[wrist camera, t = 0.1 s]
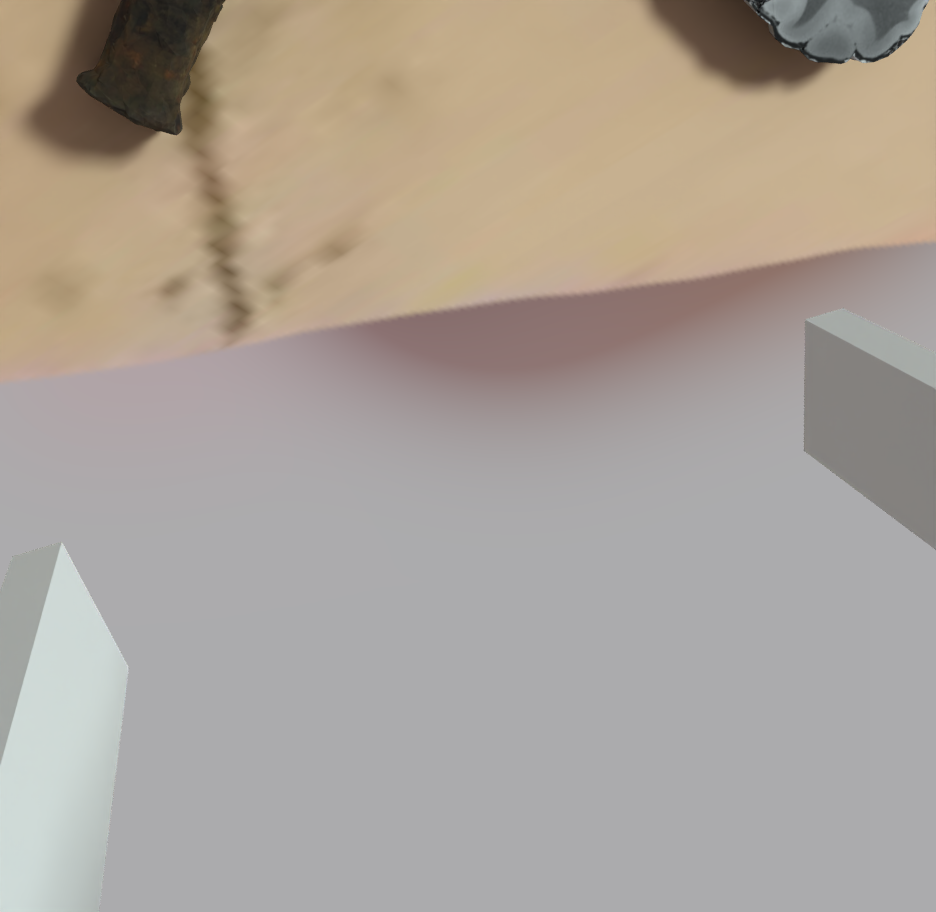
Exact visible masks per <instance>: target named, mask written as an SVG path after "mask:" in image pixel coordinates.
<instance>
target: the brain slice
mask: <svg viewBox="0 0 936 912" xmlns="http://www.w3.org/2000/svg"><path fill="white" fill-rule="evenodd" d="M744 1H745V2H746V3H747V5H748V6H749V7H750V8H751V9H752V10H753V11H754V12H756V13H757V14H758V16H760V17H761V18H762V19H764V20H765V21H766V22H768V26H769V31H770V33H771V34H772V35H773V36H774V38H775V39H776V40H778V41H779V42H780V43H781V44H783V45H784V46H785V47H789V48H793V49H797V50H800V51H801V52H802V53H803V54H804V55H805V56H806V57H807V58H808V59H809V60H812V61H815V62H829V63H838V64H842V63H845V62H847V61H848V60H849V59H852V60H858V61H860V62H862V63H868V62H875V61H878V60H880V59H883V58H885V57H887V56H889V55H890V54H892V53H893V52H894V51H895V50H897V49H898V48H899V47H900V46H901V45H902V44H903V43H905V42H906V41H907V40H908V38H909V37H910V36H911V35H912V34H913V32H914V31H915V29H916V28H917V26H918V25H919V22H920V18H921V15H922V12H923V10H924V8H925V7H926V5H927V3H928V1H929V0H744Z"/></svg>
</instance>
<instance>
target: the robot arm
mask: <svg viewBox="0 0 936 912" xmlns="http://www.w3.org/2000/svg"><path fill="white" fill-rule="evenodd" d="M804 381H805V383H804V384H805V385H804V451H805V452H806V453H808V454H809V455H811V456H812V457H813V458H814V459H816V460H817V461H818V462H820V463H821V464H822V465H824V466H825V467H826V468H828V469H829V470H830V471H832V472H833V473H835V474H836V475H837V476H838V477H840V478H841V479H843V480H844V481H845V482H846V483H848V484H849V485H850V486H852V487H853V488H854V489H856V490H857V491H858V492H860V493H861V494H862V495H864V496H865V497H866V498H868V499H869V500H870V501H872V502H873V503H874V504H876V505H877V506H878V507H879V508H881V509H882V510H883V511H885V512H886V513H887V514H889V515H890V516H892V517H893V518H894V519H896V520H897V521H898V522H899V523H901V524H902V525H903V526H905V527H906V528H908V529H909V530H910V531H911V532H913V533H914V534H915V535H917V536H918V537H919V538H921V539H922V540H923V541H925V542H926V543H928V544H929V545H930V546H931V547H933V548H934V549H935V550H936V353H935V352H933V351H931V350H929V349H927V348H925V347H923V346H921V345H919V344H917V343H915V342H912V341H911V340H908V339H906V338H904V337H902V336H900V335H898V334H896V333H894V332H892V331H890V330H887V329H886V328H883V327H881V326H879V325H877V324H875V323H873V322H871V321H869V320H867V319H865V318H863V317H861V316H858V315H856V314H854V313H852V312H850V311H848V310H846V309H844V308H842V309H839V310H835V311H832V312H829V313H825V314H822V315H819V316H815V317H812V318H809V319H805V380H804ZM128 670H129V667H128V665H127V663H126V662H125V660H124V658H123V656H122V654H121V652H120V650H119V648H118V646H117V645H116V643H115V641H114V639H113V637H112V635H111V633H110V631H109V630H108V628H107V626H106V624H105V622H104V620H103V619H102V617H101V615H100V613H99V611H98V609H97V607H96V605H95V603H94V602H93V600H92V598H91V596H90V594H89V592H88V590H87V588H86V586H85V585H84V583H83V581H82V579H81V577H80V575H79V573H78V571H77V570H76V568H75V566H74V564H73V562H72V560H71V558H70V556H69V555H68V553H67V551H66V549H65V547H64V545H63V543H62V542H60V543H56V544H54V545H50V546H47V547H44V548H40V549H36V550H33V551H30V552H26V553H23V554H20V555H16V556H13V557H12V560H11V562H10V565H9V568H8V571H7V573H6V576H5V579H4V582H3V585H2V588H1V590H0V912H99V908H100V899H101V892H102V883H103V875H104V866H105V859H106V851H107V843H108V834H109V825H110V818H111V810H112V802H113V793H114V785H115V777H116V769H117V761H118V752H119V743H120V735H121V728H122V720H123V711H124V703H125V694H126V687H127V679H128Z"/></svg>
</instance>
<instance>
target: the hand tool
mask: <svg viewBox="0 0 936 912" xmlns="http://www.w3.org/2000/svg"><path fill="white" fill-rule="evenodd" d="M224 1H225V0H122V1H121V3H120V5H119V8H118V10H117V12H116V14H115V16H114V19H113V23H112V28H111V32H110V34H109V37H108V39H107V42H106V45H105V48H104V51H103V53H102V56H101V58H100V61H99V63H98V64H97V66H96V67H95V69H93V70H90V71H86V72H83V73H81V74H79V75H78V76H77V83H78V84H79V85H80V87H82V88H83V89H84V90H85V91H86V92H87V93H88V94H89V95H90V96H91V97H93V98H95V99H97V100H98V101H100V102H102V103H103V104H105V105H106V106H108V107H110V108H111V109H113V110H114V111H116V112H117V113H119V114H121V115H123V116H124V117H126V118H127V119H129V120H130V121H132V122H133V123H135V124H137V125H143V126H145V127H148V128H151V129H154V130H155V131H163V132H166V133H169V134H173V135H178V134H179V133H180V132H181V130H182V120H181V113H180V103H181V99H182V97H183V96H184V95H185V93H186V92H187V90H188V89H189V86H190V83H191V82H190V76H189V72H190V70H191V68H192V66H193V65H194V63H195V62H196V59H197V57H198V54H199V52H200V50H201V47H202V45H203V44H204V43H205V41H206V40H207V38H208V36H209V33H210V31H211V28H212V25H213V22H215V21H216V19H217V17H218V15H219V13H220V11H221V9H222V7H223V5H222V4H223V3H224Z"/></svg>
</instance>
